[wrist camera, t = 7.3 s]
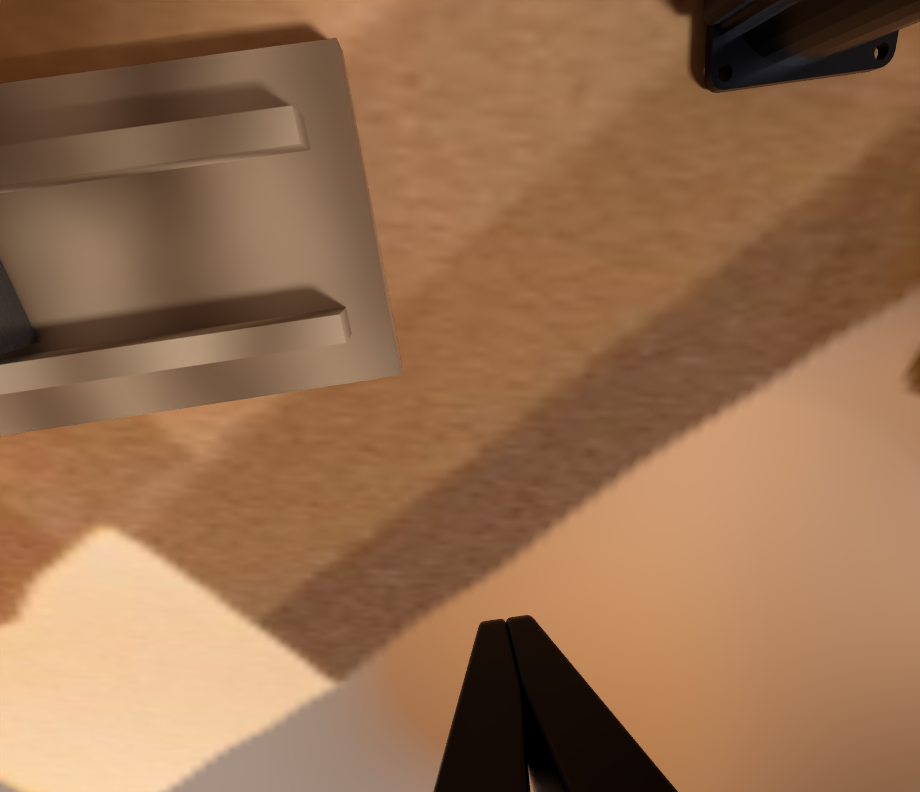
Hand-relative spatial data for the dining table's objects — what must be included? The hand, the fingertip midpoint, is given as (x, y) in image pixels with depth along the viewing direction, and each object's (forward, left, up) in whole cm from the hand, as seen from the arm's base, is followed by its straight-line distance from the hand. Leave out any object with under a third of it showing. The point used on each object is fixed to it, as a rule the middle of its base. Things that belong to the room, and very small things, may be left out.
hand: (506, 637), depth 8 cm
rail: (+15, -6, -13) cm, 21 cm away
